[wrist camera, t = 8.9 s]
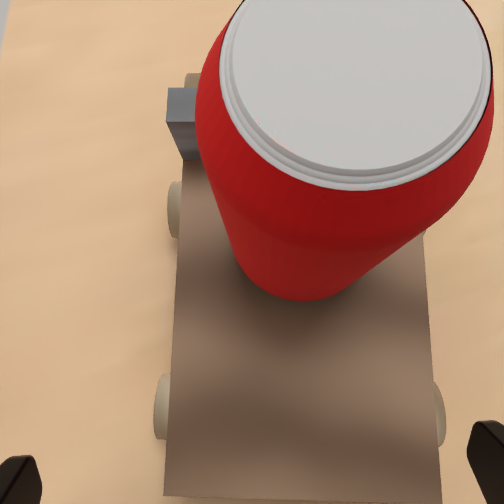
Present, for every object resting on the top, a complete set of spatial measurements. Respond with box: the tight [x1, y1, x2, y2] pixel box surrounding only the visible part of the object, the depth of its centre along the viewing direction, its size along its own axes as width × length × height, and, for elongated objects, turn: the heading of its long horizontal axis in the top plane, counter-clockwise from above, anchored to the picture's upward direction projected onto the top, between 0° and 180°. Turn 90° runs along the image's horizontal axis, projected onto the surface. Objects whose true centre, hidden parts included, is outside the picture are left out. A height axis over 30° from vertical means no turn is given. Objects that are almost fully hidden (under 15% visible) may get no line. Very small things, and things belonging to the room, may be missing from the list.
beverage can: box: [195, 0, 494, 301], centre depth 13 cm, size 6×6×12 cm
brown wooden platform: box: [153, 88, 446, 504], centre depth 19 cm, size 16×13×8 cm
